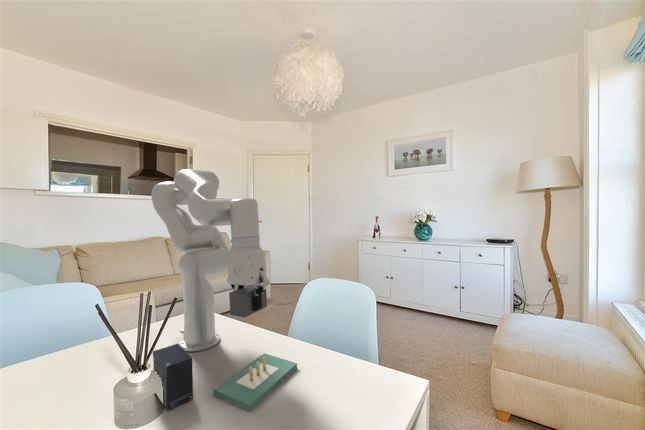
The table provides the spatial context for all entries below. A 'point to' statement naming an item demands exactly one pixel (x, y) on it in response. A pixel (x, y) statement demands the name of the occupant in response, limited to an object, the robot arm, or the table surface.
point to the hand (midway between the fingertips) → (249, 307)
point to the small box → (174, 375)
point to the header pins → (257, 368)
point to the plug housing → (244, 301)
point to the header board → (255, 382)
